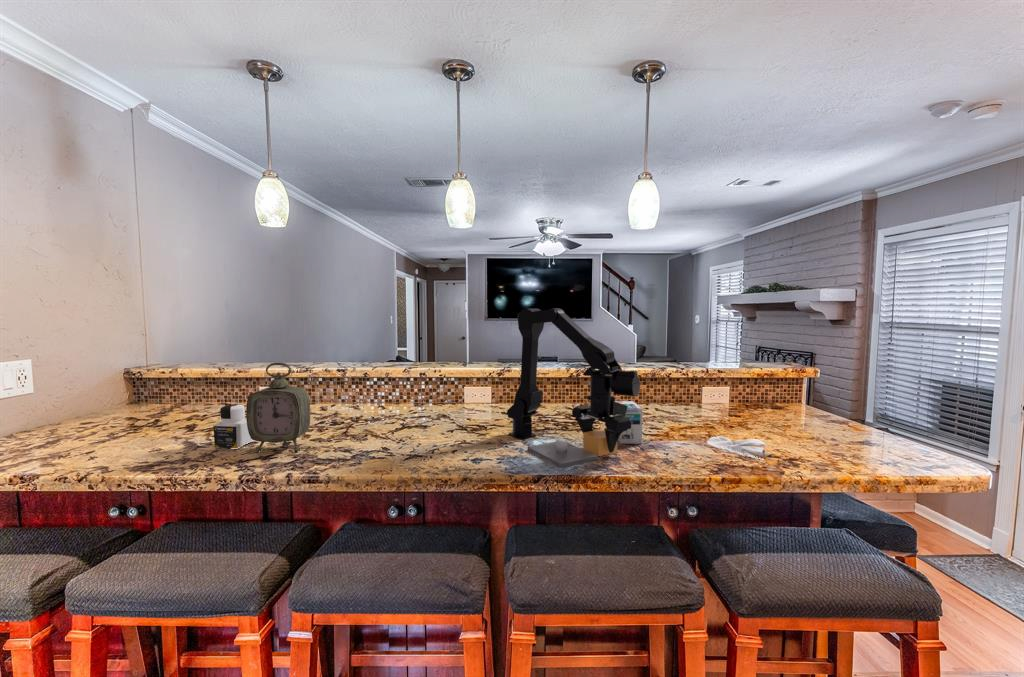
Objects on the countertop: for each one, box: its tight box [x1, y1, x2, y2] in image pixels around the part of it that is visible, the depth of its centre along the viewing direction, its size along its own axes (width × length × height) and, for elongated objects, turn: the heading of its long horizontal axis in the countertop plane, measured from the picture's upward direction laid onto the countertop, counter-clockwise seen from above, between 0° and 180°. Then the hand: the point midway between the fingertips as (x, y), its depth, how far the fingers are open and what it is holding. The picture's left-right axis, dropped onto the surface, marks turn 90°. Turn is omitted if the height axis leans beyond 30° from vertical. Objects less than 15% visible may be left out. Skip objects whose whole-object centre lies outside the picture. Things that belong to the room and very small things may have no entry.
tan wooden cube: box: [582, 428, 618, 457], centre depth 127 cm, size 7×7×5 cm
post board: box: [527, 438, 599, 469], centre depth 124 cm, size 16×12×4 cm
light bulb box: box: [613, 400, 643, 445], centre depth 139 cm, size 11×7×11 cm, turn 179°
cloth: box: [706, 435, 774, 461], centre depth 130 cm, size 20×22×2 cm
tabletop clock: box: [245, 362, 312, 453], centre depth 129 cm, size 14×9×25 cm, turn 92°
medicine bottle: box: [213, 403, 254, 449], centre depth 133 cm, size 7×7×12 cm
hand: (600, 447), depth 127 cm, fingers open, 9 cm apart
